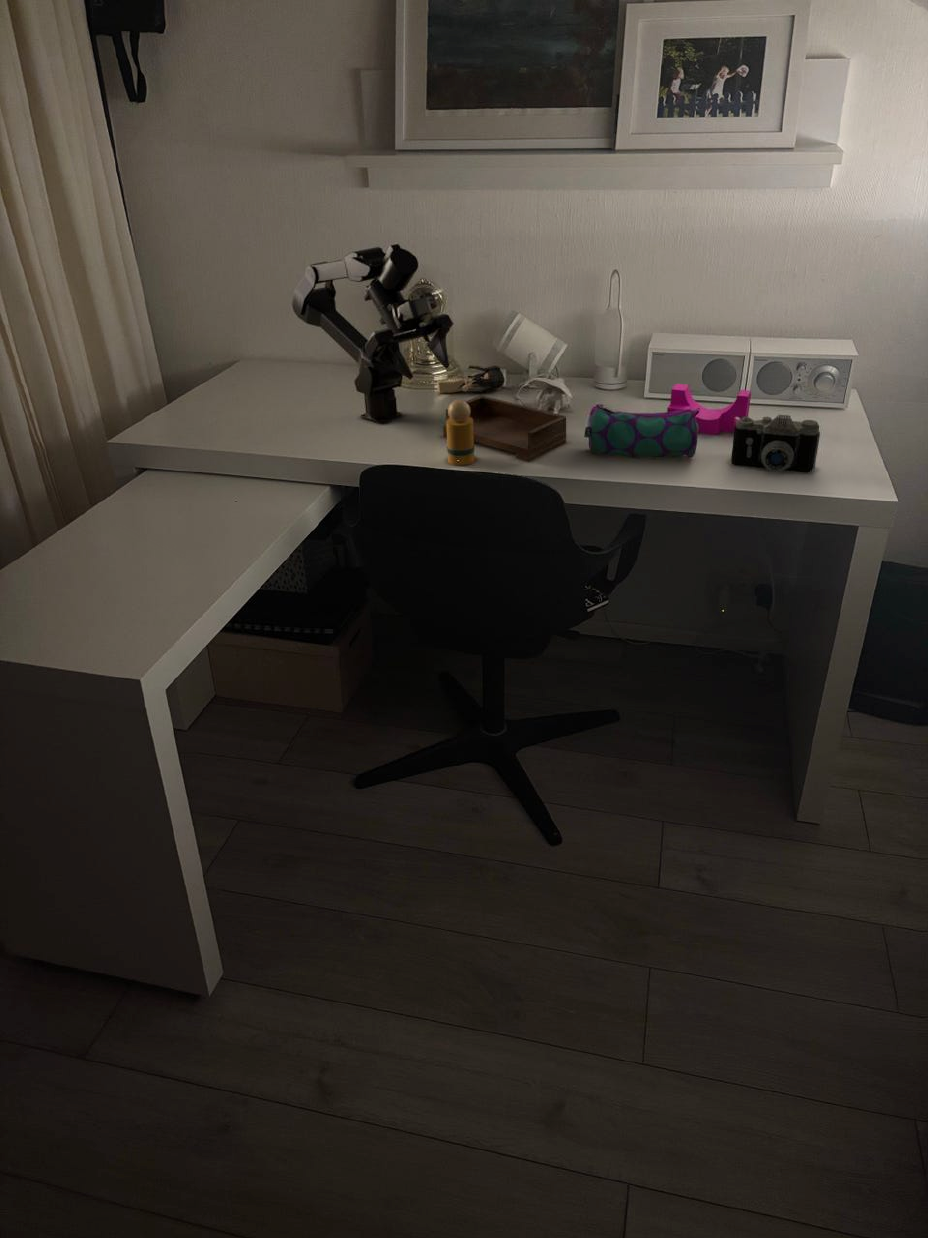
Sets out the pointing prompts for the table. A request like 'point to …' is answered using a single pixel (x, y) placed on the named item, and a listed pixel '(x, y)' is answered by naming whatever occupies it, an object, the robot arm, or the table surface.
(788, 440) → the camera
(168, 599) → the table surface
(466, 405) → the doll
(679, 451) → the pencil case
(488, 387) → the toy figure
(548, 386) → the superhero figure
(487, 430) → the wooden desk tray
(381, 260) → the robot arm
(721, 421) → the toy block
